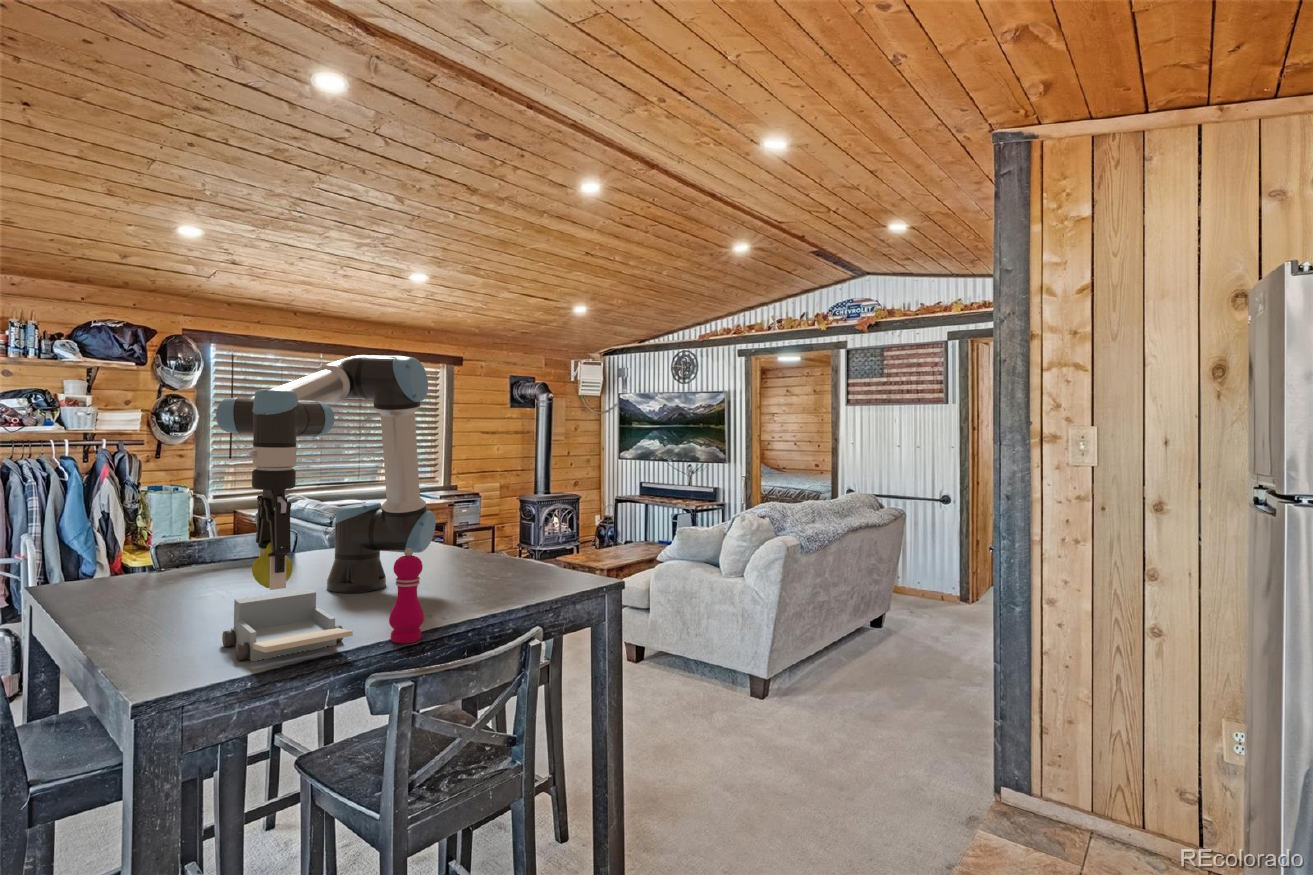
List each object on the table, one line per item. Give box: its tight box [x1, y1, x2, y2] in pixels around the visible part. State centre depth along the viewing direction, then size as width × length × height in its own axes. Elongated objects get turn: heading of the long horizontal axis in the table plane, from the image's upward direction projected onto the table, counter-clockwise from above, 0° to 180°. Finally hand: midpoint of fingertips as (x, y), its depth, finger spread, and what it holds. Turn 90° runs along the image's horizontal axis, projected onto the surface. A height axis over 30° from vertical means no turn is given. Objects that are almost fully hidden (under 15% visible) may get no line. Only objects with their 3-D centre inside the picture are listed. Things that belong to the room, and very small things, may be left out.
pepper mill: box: [388, 548, 425, 644], centre depth 153 cm, size 7×7×20 cm
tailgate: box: [253, 628, 354, 653], centre depth 139 cm, size 1×16×8 cm
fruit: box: [251, 542, 294, 589], centre depth 137 cm, size 7×7×12 cm
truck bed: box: [221, 588, 344, 663], centre depth 147 cm, size 15×20×9 cm
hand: (272, 584), depth 137 cm, fingers closed on fruit, 7 cm apart
